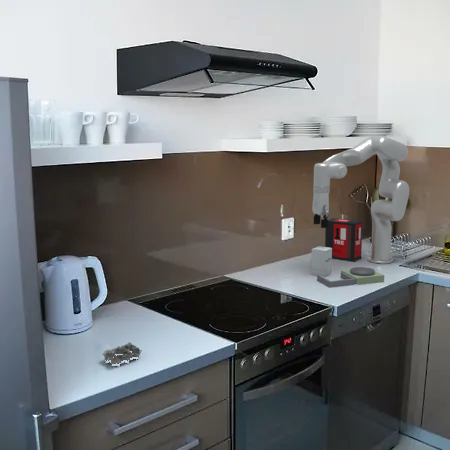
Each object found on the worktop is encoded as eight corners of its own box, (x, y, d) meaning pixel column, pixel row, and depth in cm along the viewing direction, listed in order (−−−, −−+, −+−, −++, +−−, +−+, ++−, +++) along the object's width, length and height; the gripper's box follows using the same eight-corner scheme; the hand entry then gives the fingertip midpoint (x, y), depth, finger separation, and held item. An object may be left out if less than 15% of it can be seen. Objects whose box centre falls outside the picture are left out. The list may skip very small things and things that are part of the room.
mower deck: (367, 273, 263) (367, 265, 262) (384, 281, 250) (384, 272, 249) (315, 279, 255) (315, 270, 254) (330, 287, 242) (330, 278, 241)
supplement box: (324, 277, 258) (325, 250, 256) (310, 274, 263) (310, 248, 260) (331, 273, 264) (332, 247, 262) (317, 271, 268) (318, 245, 266)
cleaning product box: (361, 258, 292) (362, 221, 288) (354, 262, 285) (355, 223, 281) (332, 254, 301) (333, 218, 298) (324, 257, 294) (325, 220, 291)
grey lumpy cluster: (113, 369, 165) (112, 357, 164) (101, 361, 171) (100, 349, 170) (143, 359, 172) (143, 346, 171) (131, 352, 177) (130, 339, 177)
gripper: (307, 188, 267) (306, 223, 270) (320, 192, 250) (319, 229, 253) (322, 187, 268) (321, 222, 272) (336, 191, 252) (335, 228, 255)
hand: (320, 225), depth 262 cm, fingers open, 9 cm apart
